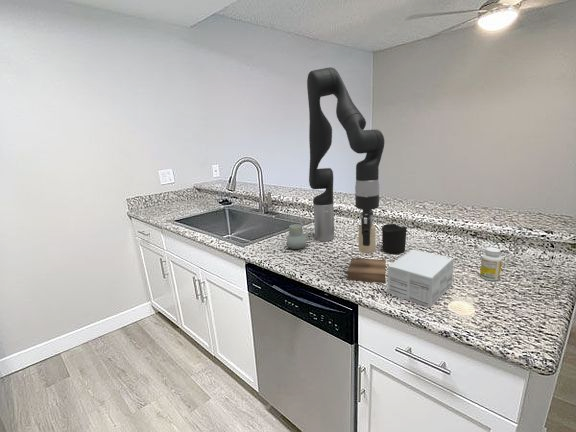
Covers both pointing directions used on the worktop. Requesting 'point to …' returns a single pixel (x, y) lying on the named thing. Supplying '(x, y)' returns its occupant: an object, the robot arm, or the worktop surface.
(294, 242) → the air freshener
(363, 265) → the walnut pedestal
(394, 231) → the pen holder
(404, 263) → the supplement box
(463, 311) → the worktop surface
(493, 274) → the supplement bottle
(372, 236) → the candle
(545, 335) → the worktop surface
